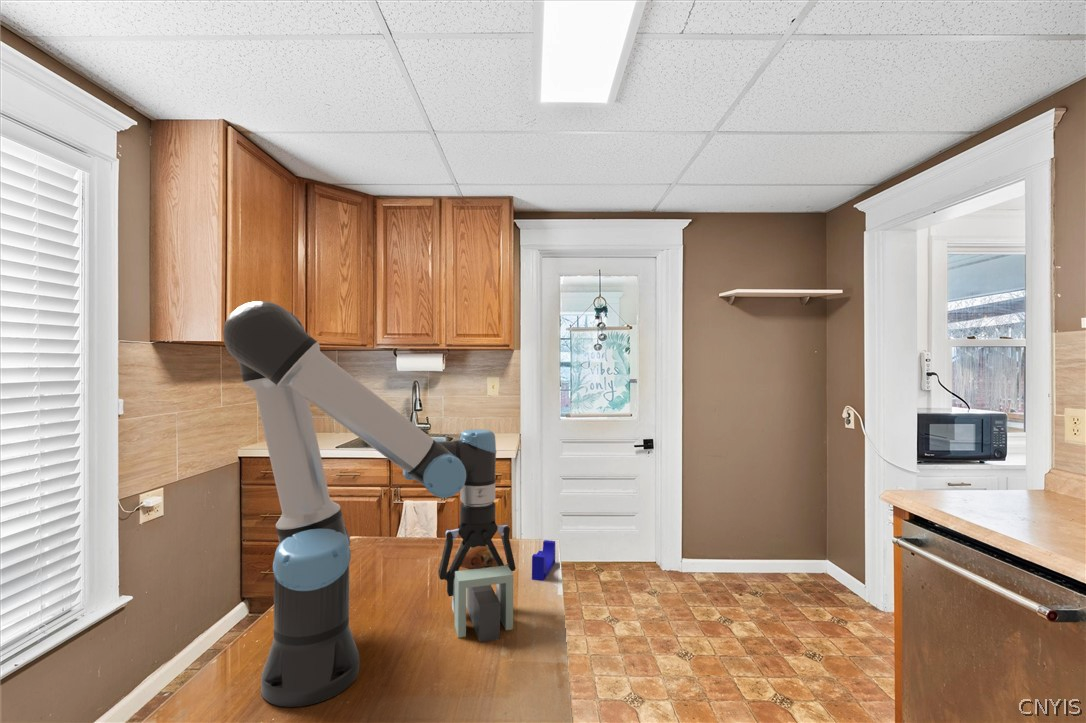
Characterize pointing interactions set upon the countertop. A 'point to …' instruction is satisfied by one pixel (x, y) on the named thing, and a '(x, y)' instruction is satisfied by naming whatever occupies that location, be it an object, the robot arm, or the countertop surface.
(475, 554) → the bread roll
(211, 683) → the countertop surface
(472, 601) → the grey rectangular block
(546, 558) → the blue cradle block
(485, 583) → the pale green arch
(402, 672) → the countertop surface
